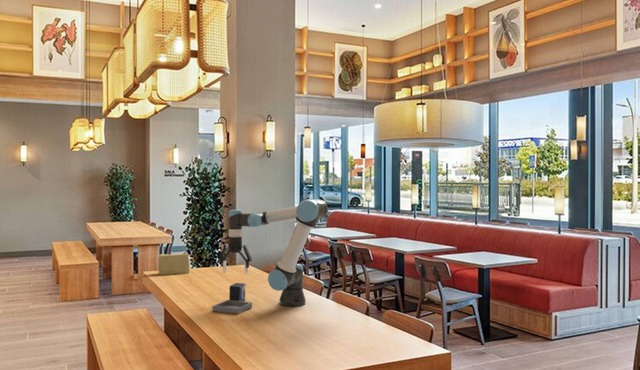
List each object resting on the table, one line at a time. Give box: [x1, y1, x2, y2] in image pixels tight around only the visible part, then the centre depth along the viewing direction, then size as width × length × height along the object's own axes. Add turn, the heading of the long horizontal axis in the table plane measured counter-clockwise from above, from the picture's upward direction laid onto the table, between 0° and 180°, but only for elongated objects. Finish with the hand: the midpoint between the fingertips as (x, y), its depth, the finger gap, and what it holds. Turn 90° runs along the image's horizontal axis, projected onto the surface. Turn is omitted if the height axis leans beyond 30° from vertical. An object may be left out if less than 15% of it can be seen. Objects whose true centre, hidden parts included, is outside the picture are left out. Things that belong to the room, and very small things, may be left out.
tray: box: [211, 299, 253, 315], centre depth 284 cm, size 16×16×3 cm
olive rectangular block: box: [158, 253, 190, 276], centre depth 391 cm, size 22×10×15 cm, turn 109°
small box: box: [228, 282, 246, 302], centre depth 301 cm, size 11×6×10 cm, turn 168°
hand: (235, 273), depth 301 cm, fingers open, 13 cm apart
